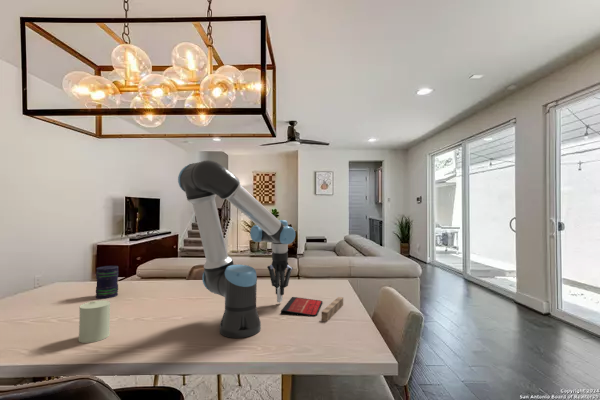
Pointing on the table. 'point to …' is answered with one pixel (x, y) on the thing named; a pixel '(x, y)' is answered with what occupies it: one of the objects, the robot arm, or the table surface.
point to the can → (94, 321)
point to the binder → (302, 307)
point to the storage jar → (107, 282)
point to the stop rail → (332, 309)
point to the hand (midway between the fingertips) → (279, 301)
